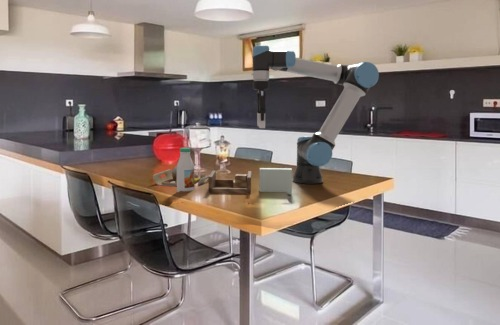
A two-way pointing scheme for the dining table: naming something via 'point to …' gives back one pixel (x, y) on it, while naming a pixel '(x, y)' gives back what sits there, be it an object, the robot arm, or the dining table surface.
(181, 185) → the milk bottle
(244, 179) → the offcut
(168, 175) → the toy food set
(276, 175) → the sheet
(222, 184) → the rack
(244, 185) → the offcut
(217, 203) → the dining table surface
